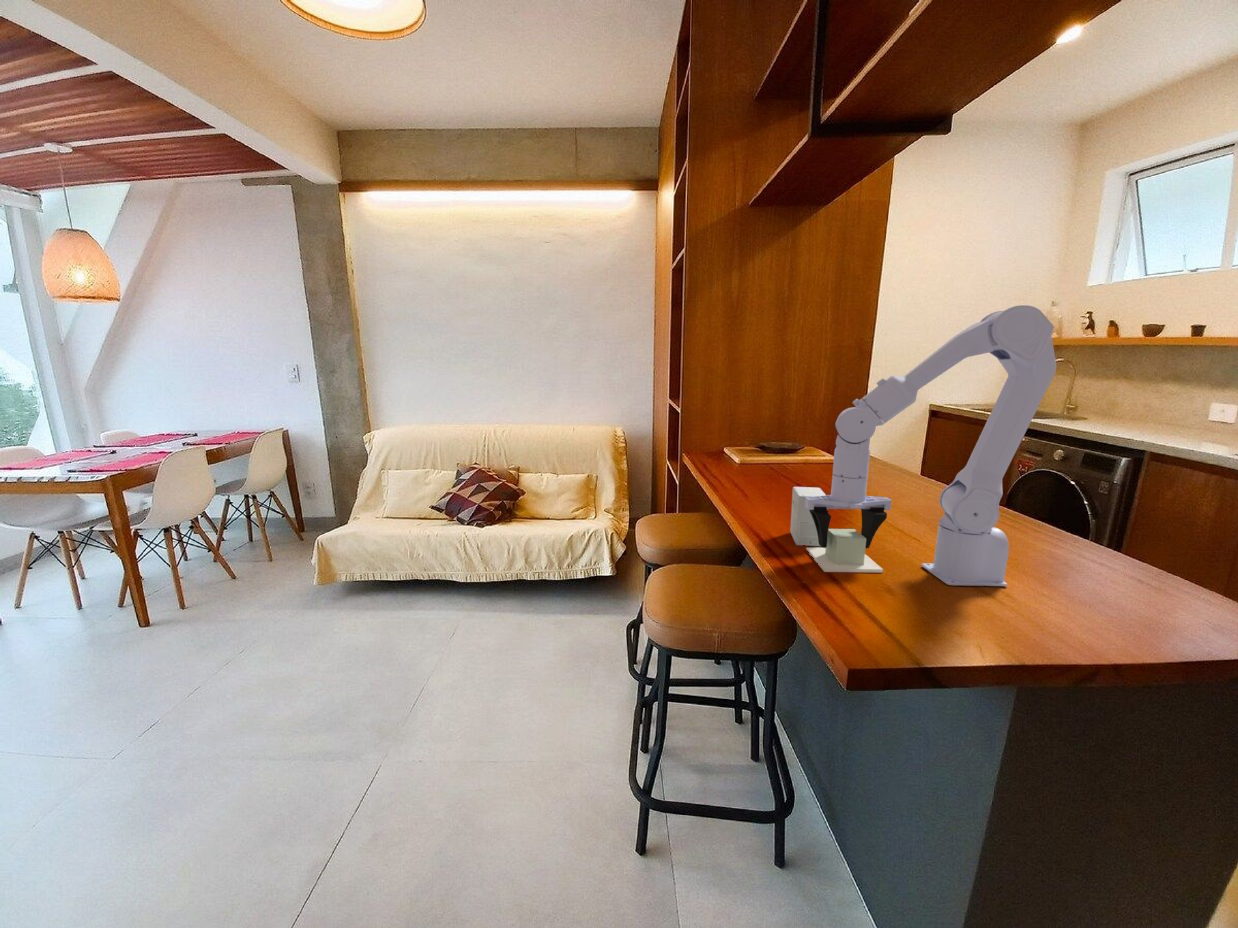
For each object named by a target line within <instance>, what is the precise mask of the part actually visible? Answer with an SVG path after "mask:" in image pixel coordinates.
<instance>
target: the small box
mask: <svg viewBox="0 0 1238 928" xmlns="http://www.w3.org/2000/svg"><path fill="white" fill-rule="evenodd" d="M825 495H826V493H825V492H824V491H823V490H822V488H821V487H811V486H810V487H807V486H793V487H792V496H791V513H790V514H791V515H790V530H789V531H790V532H789V533H790V534H791V536H792V537H791V538H792V539H793V541H794V543H795V546H803V545H805V547H808V546H809V547H821V546H820V545H819V541H818V534H817V530H816V526H815V523H814V520H813V518H812V515H811V513H810V511H809V510H808V509H807V508H806V507H805V497H815V496H825Z"/></svg>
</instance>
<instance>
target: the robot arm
mask: <svg viewBox="0 0 1238 928" xmlns="http://www.w3.org/2000/svg"><path fill="white" fill-rule="evenodd" d="M1053 331H1054V324H1053V323H1052V322H1051V321H1050V320H1049V318H1047V316H1046V315H1045V314H1044V313H1043V311H1042V310H1040V309H1039V308H1037V307H1035V306H1034V305H1029V304H1020V305H1018V304H1017V305H1014V306H1011V307H1008V308H1007V309H1004V310H997V311H994V312H991V313H989V314H988V315H986V316H984V317H983V318H982V319H980V321H978V322H975V323H974V324H972V325H970V326H968V327H966V328H965V329H963V330H962V331H960V332H959V333H957V334H956V335H954V336H953V337H952V338H950V339H949V340H948V341H947V342H946V343H944V344H943V345H941V346H940V348H937V350H935V351H934V352H933V353H932V354H930V355H929V356H927V357H926V358H924V360H923V361H921V362H920V363H919V364H918V365H917V366H915V367H913V369H912V370H910V371H908V373H906V374H905V375H902V376H901V375H891V376H889V377H888V378H887V379H885V378H881V379H879V380H878V381H876V385H877V386H876V387H875V388H873V389H872V390H871V391H870V392H868V393H867V394H865V395H864V396H863V397H862V398H861V399H858V398H855V399H854V400H853V401H852V404H853V405H854V406H855V407H848V408H845V409H844V410H842V411H841V412H840V413H839V415H838V417H837V419H836V421H835V424H834V425H835V429H836V431H837V436H836V440H835V445H836V447H835V448H834V453H833V465H832V476H831V488H830V490H831V491H830V494H827V495H825V496H815V497H805V507H806V508H807V509H808V510H809V511H810V513H811V515H812V518H813V520H814V523H815V526H816V530H817V534H818V541H819V545H820V546H819V547H820V548H826V547H827V537H828V529H830V528H829V526H830V522H831V521H832V515H830V514H829V511H828V510H832V509H833V510H839V509H840V510H860V513H861V530H860V531H861V532H860V534H861V535H862V536H864V537H865V538H866V547H865V549H869V548H870V546H871V544H872V540H873V539H874V537H875V534H876V532H877V531H878V529H879V528H880V527H881V525H883V522H885V521H886V520H887V518H888V513H887V512H886V511H891V509H892V499H890V498H889V497H885V496H884V497H883V496H872V495H871V496H870V495H869V496H868V495H867V490H868V488H867V487H868V478H869V469H870V468H869V467H870V457H871V451H870V441H871V438H872V436H874V434H875V431H876V428H877V427H878V426H883V425H885V424H886V423H888V421H891V420H892V419H894V418H895V417H896V416H898V415H899V414H900V413H902V412H903V411H904V410H906V409H907V408H909V407H910V406H912V405H913V404H914V403H916V401H917V395H918V391H919V390H920V389H922V388H924V387H925V386H926V385H928V384H929V383H930V382H933V381H934V379H937V378H938V377H939V376H941V375H943V373H945V372H948V370H950V369H952V368H953V367H954V366H956V365H957V364H959V363H960V362H961V361H962V362H963V360H965V359H967V358H971V357H974V356H978V355H983V354H990V355H992V356H994V357H995V358H997V360H998V362H999V363H1000V364H1001V366H1002V367H1003V369H1004V370H1005V372H1006V373H1007V374H1008V376H1007V378H1006V381H1005V382H1004V385H1003V387H1002V389H1001V391H1000V393H999V395H998V397H997V399H996V401H995V403H994V406H993V407H992V409H991V412H990V414H989V416H988V418H987V420H986V422H985V425H984V427H983V429H982V431H981V433H980V435H979V437H978V440H977V441H976V444H975V446H974V448H973V450H972V452H971V454H970V457H969V458H968V461H967V463H966V465H965V466H964V467H963V469H961V470H960V471H959V472H957V474H956V475H955V478H954V479H953V481H952V482H951V483H950V484H948V486H946V487H945V488H943V490H942V491H941V493H940V495H939V505H940V508H941V509H942V511H944V514H942V516H941V518H940V519H939V521H938V527H937V535H936V543H935V551H934V558H933V563H929V562H927V563H924V562H923V563H921V567H922V568H924V569H925V570H927V571H928V572H929V573H930V574H932V575H933V576H935V577H936V578H938V580H941V581H942V582H943V583H944V584H946V585H948V586H969V587H970V586H971V587H972V586H973V587H974V586H975V587H984V586H985V587H1007V586H1008V583H1007V582H1006V581H1005V575H1006V570H1007V563H1008V557H1009V551H1010V544H1009V539H1008V536H1007V535H1006V533H1005V532H1004V531H1003V530H1001V529H1000V528H998V527H995V526H996V525H997V523H998V521H999V519H1000V506H999V505H1000V501H1001V499H1002V497H1003V494H1004V493H1003V488H1004V487H1003V478H1004V477H1005V474H1006V472H1007V470H1008V469H1009V466H1010V464H1011V462H1012V460H1013V458H1014V456H1015V454H1016V452H1017V450H1018V449H1019V446H1020V444H1021V442H1022V441H1023V439H1024V436H1025V434H1026V432H1027V430H1028V429H1029V427H1030V424H1031V423H1032V421H1033V419H1034V417H1035V414H1036V412H1037V410H1038V408H1039V407H1040V404H1041V402H1042V401H1043V398H1044V396H1045V394H1046V392H1047V391H1048V388H1049V386H1050V385H1051V383H1052V380H1053V379H1054V376H1055V374H1056V371H1057V366H1058V365H1057V361H1056V360H1057V359H1056V355H1055V350H1054V349H1055V348H1054V343H1053V338H1052V337H1053Z"/></svg>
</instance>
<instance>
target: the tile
mask: <svg viewBox="0 0 1238 928" xmlns="http://www.w3.org/2000/svg"><path fill="white" fill-rule="evenodd" d="M805 547H806V548H805V550H807V551H808V552H809V553H808V552H807V551H806V552H807V553H808V554H809V556H810V557H811V556H812V557H813V558H814V559H813V558H812V557H811V558H812V559H813V560H814V562H815V563H816V564H817V563H818V564H817V565H818V566H819V567H820V568H821V570H822V571H823V572H824V573H879V574H881V573H884V569H883V568H882V567H881V566H880V565H878V564H877V563H876V562H875V561H874V560H873V559H872V558H871V557H870V556H868V555H867V554H866V553H865V557H864V565H838V564H834V563H833V562H832V561H831V559H830V558H829V557H828V556H827V555H826V554H825V549H826V548H822V547H816V546H809V547H808V546H805Z"/></svg>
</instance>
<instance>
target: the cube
mask: <svg viewBox="0 0 1238 928" xmlns="http://www.w3.org/2000/svg"><path fill="white" fill-rule="evenodd" d="M865 547H866V538H865V537H864V536H862V535H861V532H859V531H858V530H856V529H855V528H828V537H827V547H826V549H825V554H826V555H827V556H828V557H829V558H830V559H831V561H832V562H833V563H834V564H838V565H864V557H865V554H866V548H865Z"/></svg>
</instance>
